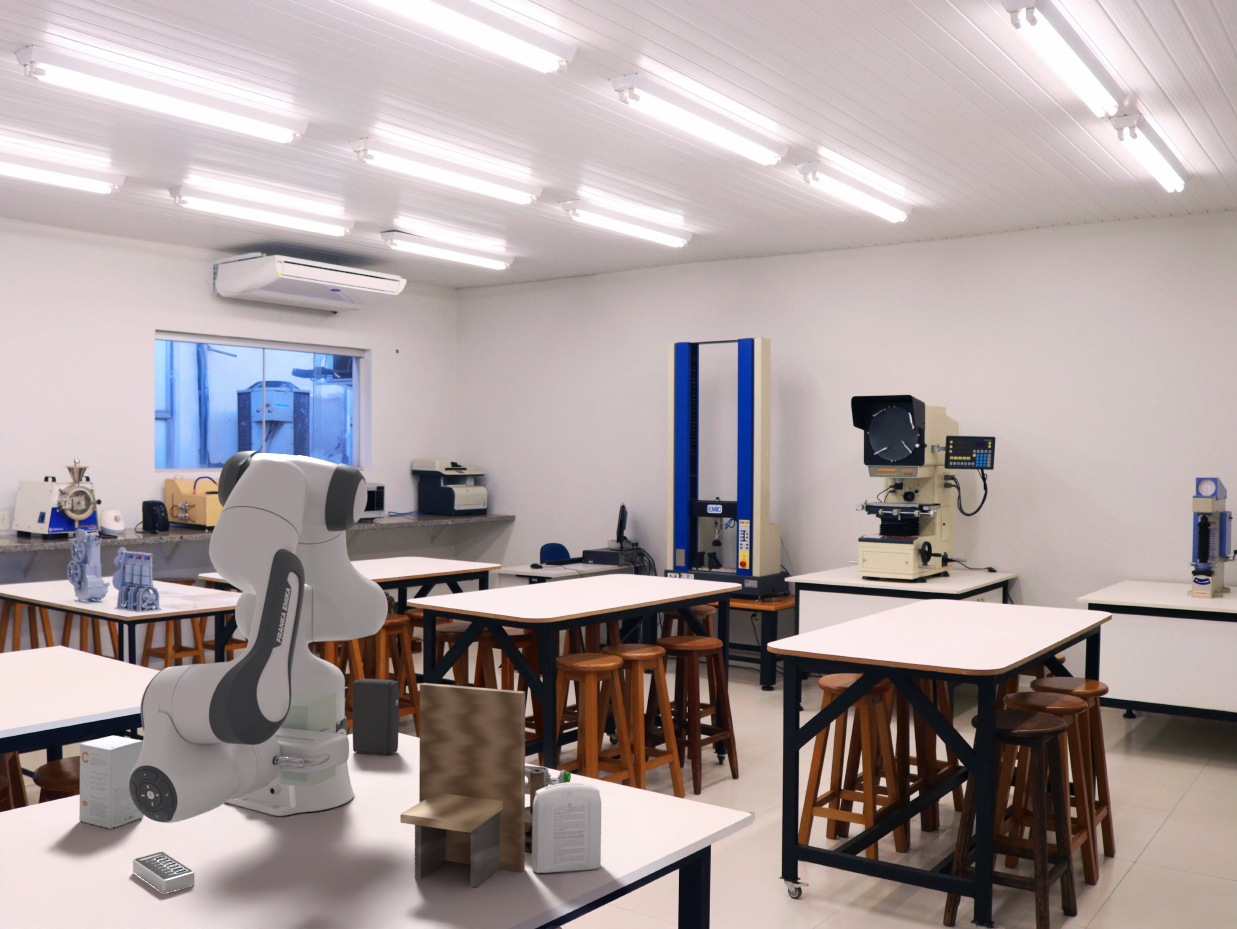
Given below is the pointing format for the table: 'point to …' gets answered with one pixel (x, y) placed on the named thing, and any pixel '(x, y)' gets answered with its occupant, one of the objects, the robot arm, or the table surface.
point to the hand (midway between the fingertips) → (312, 732)
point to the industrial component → (535, 785)
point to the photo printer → (566, 828)
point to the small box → (108, 781)
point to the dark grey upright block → (375, 716)
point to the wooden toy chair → (470, 780)
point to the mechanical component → (546, 777)
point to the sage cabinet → (310, 729)
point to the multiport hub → (163, 872)
